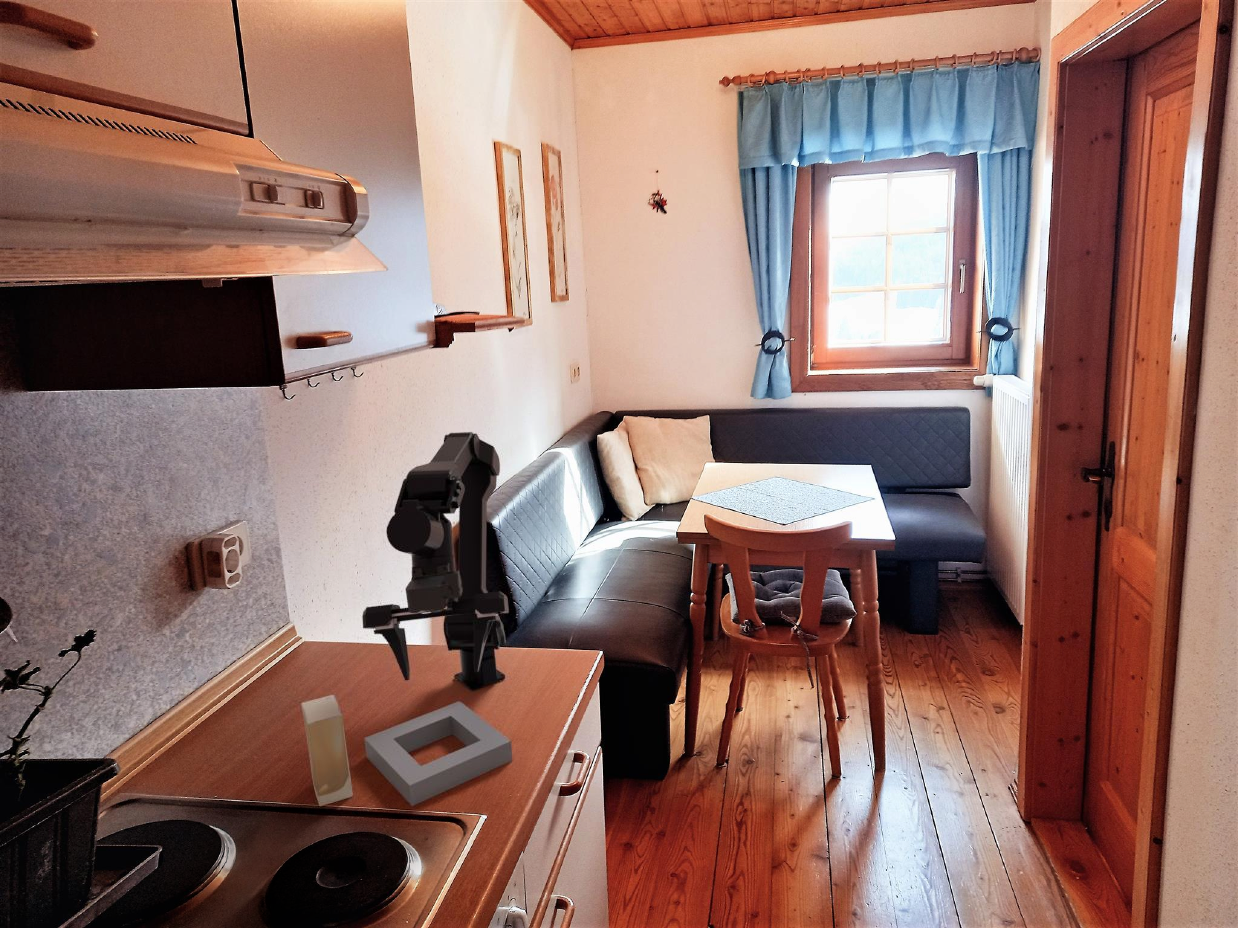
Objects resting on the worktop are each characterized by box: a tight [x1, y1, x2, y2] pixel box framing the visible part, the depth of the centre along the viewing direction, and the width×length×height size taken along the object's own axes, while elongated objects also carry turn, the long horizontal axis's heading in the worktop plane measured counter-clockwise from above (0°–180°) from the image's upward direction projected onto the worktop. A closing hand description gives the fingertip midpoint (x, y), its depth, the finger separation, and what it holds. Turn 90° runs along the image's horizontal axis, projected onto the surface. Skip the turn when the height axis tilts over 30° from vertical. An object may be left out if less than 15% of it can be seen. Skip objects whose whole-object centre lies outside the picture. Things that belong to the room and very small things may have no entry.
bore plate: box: [363, 701, 514, 807], centre depth 117 cm, size 15×15×3 cm
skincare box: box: [301, 694, 353, 807], centre depth 110 cm, size 6×4×12 cm
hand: (442, 675), depth 111 cm, fingers open, 9 cm apart
